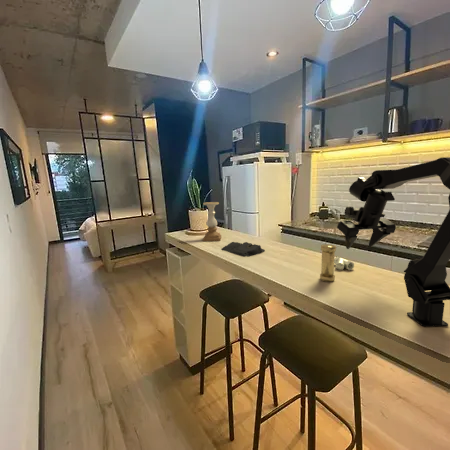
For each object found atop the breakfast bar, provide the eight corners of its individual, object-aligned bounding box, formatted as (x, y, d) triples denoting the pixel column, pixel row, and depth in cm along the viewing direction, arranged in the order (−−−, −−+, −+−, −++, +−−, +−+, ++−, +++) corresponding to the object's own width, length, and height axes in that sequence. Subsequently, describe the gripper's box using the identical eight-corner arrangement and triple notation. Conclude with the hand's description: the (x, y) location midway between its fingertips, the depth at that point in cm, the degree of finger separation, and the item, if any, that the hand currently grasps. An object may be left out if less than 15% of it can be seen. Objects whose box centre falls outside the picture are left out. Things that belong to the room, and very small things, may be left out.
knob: (336, 281, 97) (338, 247, 95) (322, 282, 97) (324, 248, 95) (331, 276, 102) (332, 244, 100) (317, 277, 102) (319, 244, 100)
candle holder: (220, 241, 166) (218, 203, 162) (202, 241, 167) (201, 203, 163) (221, 237, 177) (220, 201, 173) (205, 237, 178) (203, 202, 174)
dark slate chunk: (239, 245, 157) (239, 237, 156) (267, 252, 140) (267, 243, 139) (219, 250, 147) (218, 242, 146) (246, 258, 130) (246, 249, 129)
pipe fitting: (340, 272, 108) (354, 269, 110) (340, 263, 107) (354, 260, 109) (327, 266, 116) (340, 263, 117) (327, 258, 115) (340, 255, 116)
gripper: (380, 196, 94) (366, 233, 102) (334, 198, 90) (323, 237, 98) (405, 210, 85) (387, 250, 93) (354, 214, 81) (340, 255, 89)
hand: (358, 247), depth 93 cm, fingers open, 9 cm apart
